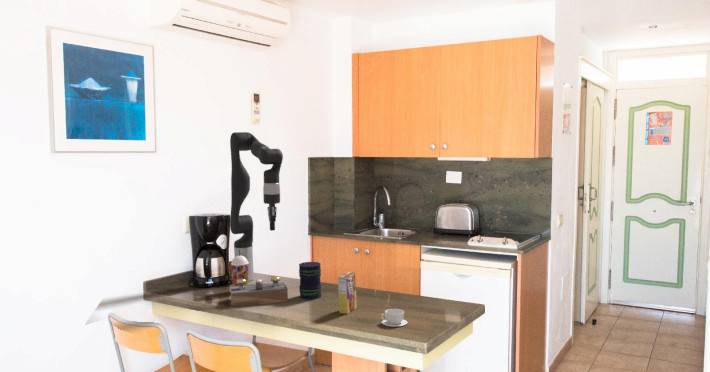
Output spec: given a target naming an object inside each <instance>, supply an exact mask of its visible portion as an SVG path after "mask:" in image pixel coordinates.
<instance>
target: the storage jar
mask: <svg viewBox="0 0 710 372" xmlns="http://www.w3.org/2000/svg"><path fill="white" fill-rule="evenodd" d="M298 266H299V267H298V269H299V270H298V273H299V294H300V295H299V298H300V299H302V300H309V301H310V300H312V301H313V300H317V299H320V298H322V283H321V276H322V269H321V268H322V267H321V262H318V261H306V262H305V261H304V262H299V264H298Z"/></svg>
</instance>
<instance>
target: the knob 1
mask: <svg viewBox="0 0 710 372" xmlns="http://www.w3.org/2000/svg"><path fill="white" fill-rule="evenodd" d="M245 283H246V279H237V284H239V290H240V289H244V284H245Z"/></svg>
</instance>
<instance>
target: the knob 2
mask: <svg viewBox="0 0 710 372" xmlns="http://www.w3.org/2000/svg"><path fill="white" fill-rule="evenodd" d="M270 281H271V282H272V283H273V287H277V286H278V282H279V281H280V282H281V276H280V275H274V276H271V277H270Z"/></svg>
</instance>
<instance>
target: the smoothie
mask: <svg viewBox="0 0 710 372" xmlns="http://www.w3.org/2000/svg"><path fill="white" fill-rule="evenodd" d="M230 267H231V278H232V279H231V280H232V286H238V285H239V284H237V279H246V283H245V284H244V285H249V281H248V276H249V262H248V260H247V259H246V257H244V256H242V255H240V250H239V255H238V256H236V257H233V258H232V260H231V263H230Z"/></svg>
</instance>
